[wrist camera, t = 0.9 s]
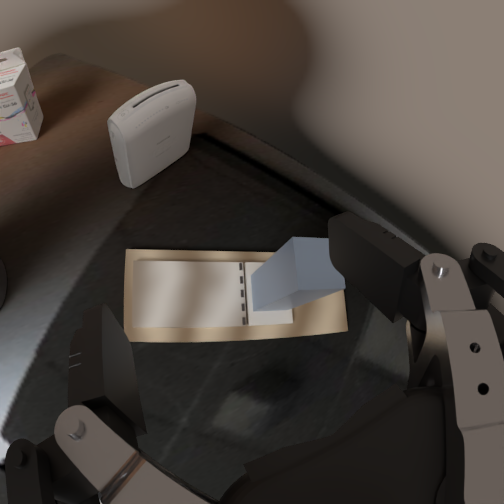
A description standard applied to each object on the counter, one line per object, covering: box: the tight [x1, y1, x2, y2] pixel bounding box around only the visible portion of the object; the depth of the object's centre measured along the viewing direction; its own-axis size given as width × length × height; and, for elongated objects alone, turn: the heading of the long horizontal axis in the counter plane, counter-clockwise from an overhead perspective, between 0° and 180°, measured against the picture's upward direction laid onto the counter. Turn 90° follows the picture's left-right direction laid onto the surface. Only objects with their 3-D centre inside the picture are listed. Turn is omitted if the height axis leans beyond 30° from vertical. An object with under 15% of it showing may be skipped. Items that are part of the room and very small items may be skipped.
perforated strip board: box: [124, 249, 348, 342], centre depth 33 cm, size 26×10×2 cm, turn 94°
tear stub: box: [244, 237, 345, 326], centre depth 28 cm, size 5×7×13 cm
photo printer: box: [107, 80, 196, 189], centre depth 31 cm, size 10×4×12 cm, turn 136°
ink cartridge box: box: [0, 48, 43, 146], centre depth 26 cm, size 9×5×15 cm, turn 99°
